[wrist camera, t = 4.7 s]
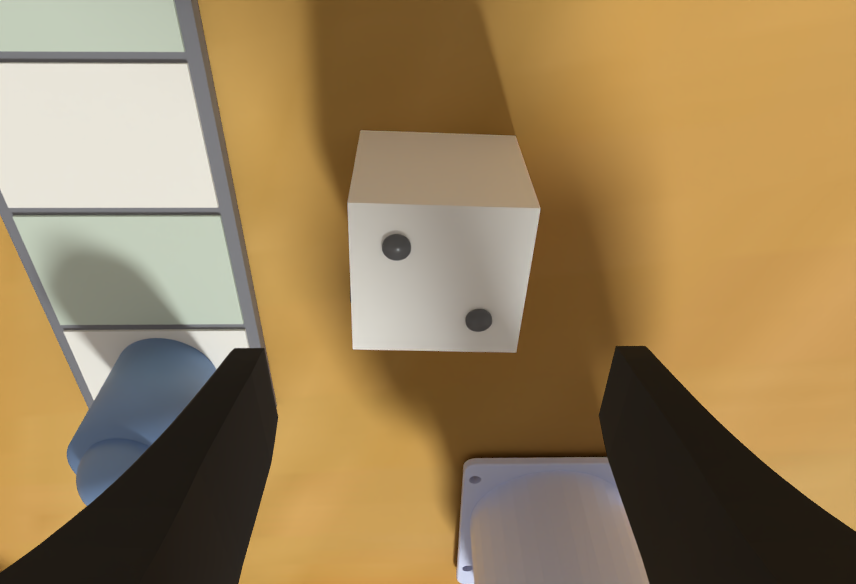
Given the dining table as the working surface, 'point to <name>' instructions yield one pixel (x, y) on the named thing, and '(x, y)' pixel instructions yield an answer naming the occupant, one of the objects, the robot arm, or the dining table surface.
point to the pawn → (134, 409)
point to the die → (439, 241)
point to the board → (121, 180)
